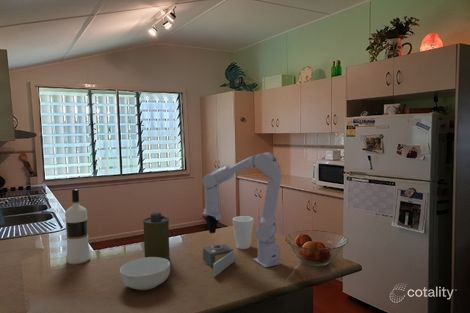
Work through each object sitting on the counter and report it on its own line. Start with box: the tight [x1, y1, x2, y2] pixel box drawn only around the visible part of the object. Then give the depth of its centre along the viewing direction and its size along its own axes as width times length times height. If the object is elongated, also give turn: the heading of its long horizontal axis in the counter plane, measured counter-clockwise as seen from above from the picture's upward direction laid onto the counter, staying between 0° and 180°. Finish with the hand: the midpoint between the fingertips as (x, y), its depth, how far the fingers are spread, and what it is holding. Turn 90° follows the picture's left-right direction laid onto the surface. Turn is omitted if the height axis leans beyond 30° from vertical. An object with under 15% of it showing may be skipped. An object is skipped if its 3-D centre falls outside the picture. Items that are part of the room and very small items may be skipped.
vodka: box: [64, 188, 91, 265], centre depth 140 cm, size 9×9×30 cm
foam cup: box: [232, 215, 254, 250], centre depth 155 cm, size 10×9×13 cm
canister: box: [142, 211, 171, 262], centre depth 139 cm, size 11×10×20 cm
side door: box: [212, 250, 235, 277], centre depth 130 cm, size 1×15×4 cm, turn 152°
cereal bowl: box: [119, 256, 171, 291], centre depth 117 cm, size 17×17×7 cm
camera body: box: [202, 243, 234, 267], centre depth 138 cm, size 8×10×6 cm
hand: (212, 232), depth 146 cm, fingers closed
